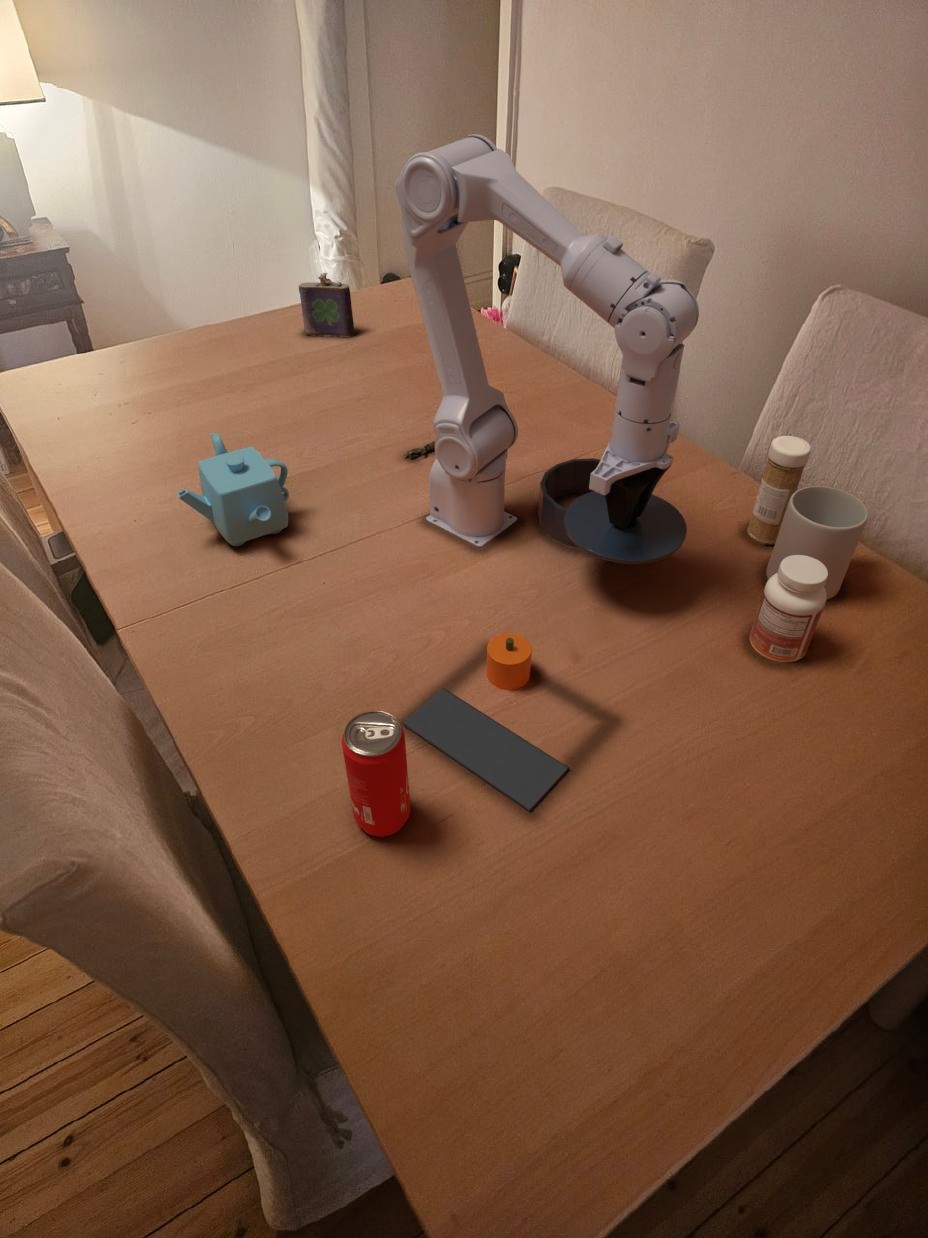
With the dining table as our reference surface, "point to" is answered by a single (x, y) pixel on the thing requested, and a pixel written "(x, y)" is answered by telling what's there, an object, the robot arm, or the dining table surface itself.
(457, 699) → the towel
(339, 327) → the flask
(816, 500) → the mug
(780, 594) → the pill bottle
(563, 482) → the pot
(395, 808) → the beverage can
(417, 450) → the can opener
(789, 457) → the sprinkles bottle
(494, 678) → the pumpkin
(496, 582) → the dining table surface
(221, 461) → the teapot
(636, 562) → the pot lid
